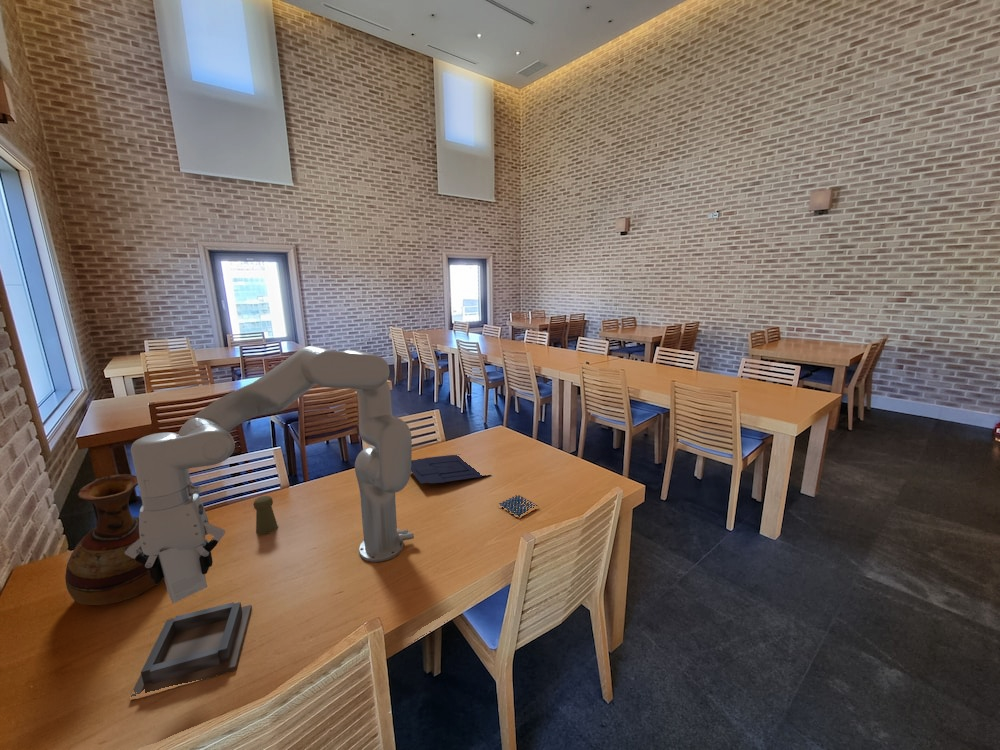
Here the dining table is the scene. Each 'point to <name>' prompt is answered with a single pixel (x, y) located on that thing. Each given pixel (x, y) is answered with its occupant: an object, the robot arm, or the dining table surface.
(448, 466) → the navy folded cloth
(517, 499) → the woven mat
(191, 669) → the socket stand
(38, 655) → the dining table surface
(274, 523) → the cork
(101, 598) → the painted clay vase
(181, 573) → the skincare box
